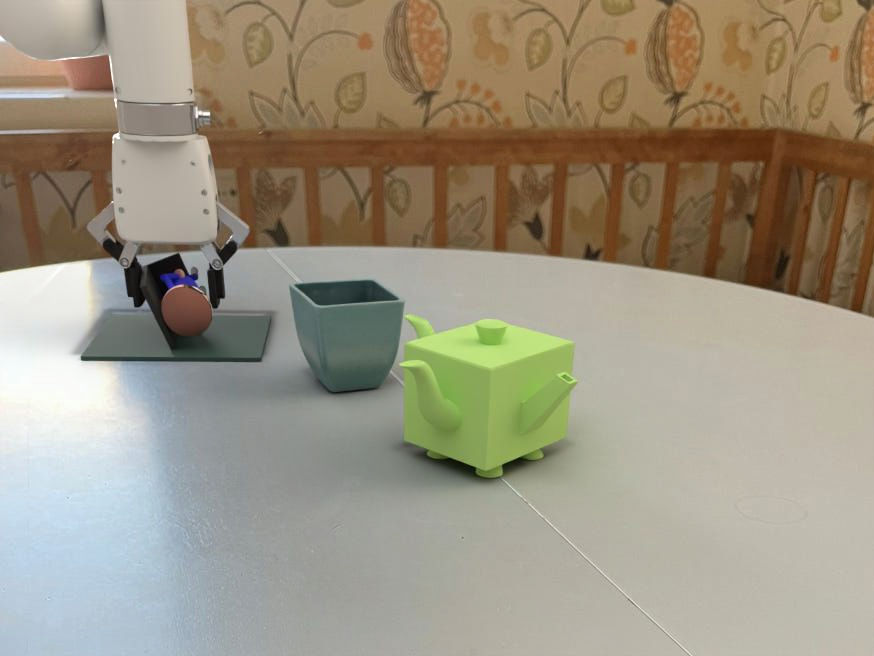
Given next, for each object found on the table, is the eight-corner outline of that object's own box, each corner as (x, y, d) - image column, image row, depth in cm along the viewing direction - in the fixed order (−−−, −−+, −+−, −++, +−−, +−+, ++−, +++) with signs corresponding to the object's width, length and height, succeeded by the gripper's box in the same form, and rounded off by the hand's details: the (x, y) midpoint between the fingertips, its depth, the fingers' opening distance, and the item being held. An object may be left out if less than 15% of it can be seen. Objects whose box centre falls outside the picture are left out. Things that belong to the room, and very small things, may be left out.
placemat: (81, 360, 106) (80, 356, 106) (111, 317, 120) (111, 313, 119) (261, 361, 108) (260, 357, 108) (271, 319, 121) (271, 315, 121)
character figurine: (212, 318, 121) (213, 358, 108) (145, 313, 119) (139, 354, 106) (211, 247, 117) (212, 281, 104) (143, 242, 115) (136, 275, 102)
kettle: (399, 489, 82) (399, 347, 76) (392, 425, 94) (391, 298, 88) (586, 487, 84) (600, 348, 78) (556, 425, 96) (566, 300, 90)
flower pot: (406, 393, 101) (407, 298, 97) (319, 403, 98) (315, 306, 93) (374, 366, 108) (373, 276, 103) (292, 375, 105) (287, 282, 100)
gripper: (251, 119, 107) (263, 297, 116) (74, 114, 105) (101, 294, 114) (244, 128, 100) (257, 315, 110) (56, 122, 98) (86, 313, 108)
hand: (177, 303), depth 112 cm, fingers closed on character figurine, 7 cm apart
